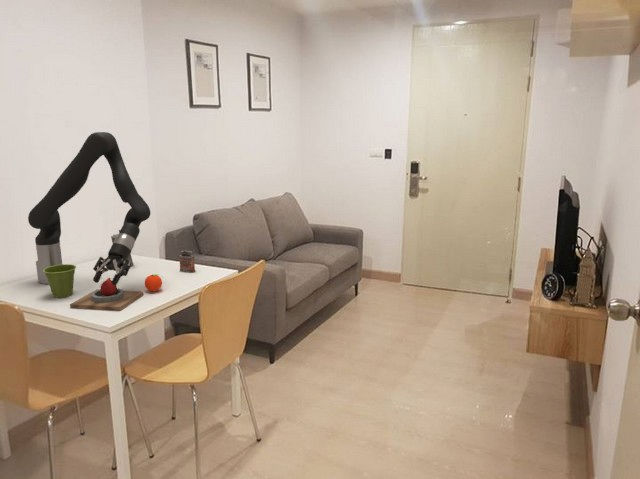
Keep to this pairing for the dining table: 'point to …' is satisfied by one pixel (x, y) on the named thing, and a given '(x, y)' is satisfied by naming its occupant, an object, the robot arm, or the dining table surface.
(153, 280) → the clementine
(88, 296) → the board
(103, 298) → the ring
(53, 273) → the plant pot
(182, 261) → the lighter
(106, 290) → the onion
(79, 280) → the dining table surface
